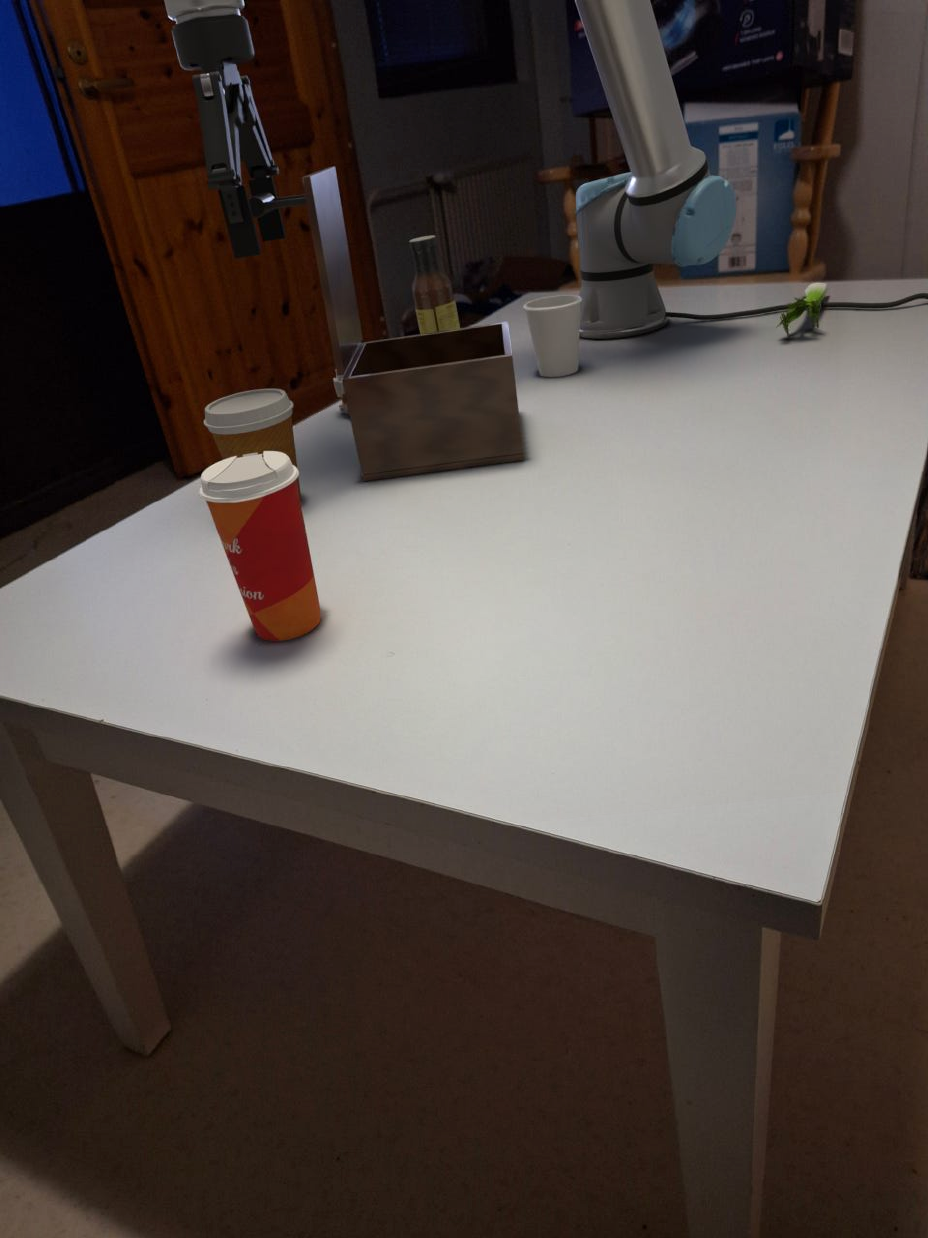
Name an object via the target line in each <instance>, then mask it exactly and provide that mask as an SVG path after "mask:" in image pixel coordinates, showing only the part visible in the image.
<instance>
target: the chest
mask: <svg viewBox="0 0 928 1238" xmlns="http://www.w3.org/2000/svg"><path fill="white" fill-rule="evenodd" d="M510 335H511V334H510V328H509V322H508V321H502V322H496V323H488V324H482V325H474V326H468V327H467V326H466V327H460V329H453V330H446V331H439V332H432V333H425V334H420V333H418V334H413V335H405V336H398V337H392V338H385V339H378V340H370V341H365V342H361V343H360V345H359V347H358V349H357V351H356V353H355V355H354V357H353V359H352V361H351V363H350V365H349V367H348V369H347V371H346V373H345V375H344V376H343V379H342V383H343V387H344V392H345V397H346V402H347V407H348V411H349V414H348V416H349V421H350V425H351V430H352V434H353V440H354V444H355V450H356V455H357V458H358V463H359V468H360V473H361V476H362V477H361V478H362V481H363V482H368V481H375V480H376V481H377V480H384V479H390V478H399V477H405V476H413V475H421V474H422V475H423V474H429V473H436V472H443V471H450V470H458V469H459V470H460V469H468V468H475V467H481V466H482V467H483V466H490V465H496V464H505V463H512V462H519V461H524V460H525V453H524V443H523V436H522V428H521V418H520V409H519V400H518V393H517V385H516V376H515V365H514V358H513V350H512V342H511V337H510Z"/></svg>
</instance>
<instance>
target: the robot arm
mask: <svg viewBox="0 0 928 1238" xmlns="http://www.w3.org/2000/svg"><path fill="white" fill-rule="evenodd" d="M163 1H164V5H165V9H166V14H167V17H168V18H169V19H170V20H172V21H174V22H176V23H175V24H174V25H173V26H172V30H171V35H172V38H173V43H174V47H175V50H176V54H177V59H178V62H179V65H180V67H181V68H182V69H183V70H185V71H201V73H199V74H198V73H197V74H193V75H192V77H191V78H192V85H193V88H194V92H195V96H196V97H195V98H196V101H197V108H198V115H199V123H200V131H201V139H202V145H203V146H202V147H203V153H204V161H205V168H206V177H207V179H206V180H205V182H206V185H207V189H208V190H209V191H215V190H217V193H218V197H219V201H220V205H221V208H222V214H223V217H224V221H225V224H226V229H227V233H228V236H229V237H228V238H229V240H230V244H231V249H232V253H233V257H234V259H235V260H236V259H241V258H242V259H243V258H249V257H255V256H261V255H262V254H263V252H262V249H261V245H260V240H259V236H258V232H257V228H256V224H255V218H254V217H253V214H252V210H251V206H250V202H249V194H248V190H247V186H246V184H243V185H242V181H243V180H242V169H241V159H242V161H243V163H244V166H245V168H246V170H247V173H248V176H249V178H250V179H248V180H247V182H248V186H249V191H250V195H251V197H254V196H256V195H259V194H261V193H264V192H268V193H270V194H272V195H273V196H274V198H278V194H277V191H276V186H275V181H274V176H277V175H279V174H280V170H279V166H278V164H275V160H274V159H273V156H272V152H271V150H270V146H269V145H268V141H267V138H266V137H267V136H266V134H265V131H264V128H263V125H262V122H261V118H260V116H259V111H258V109H257V106H256V103H255V100H254V97H253V96H254V95H253V92H252V87H251V81H250V78H249V77H248V75H240V71H239V70H238V64H243V63H247V62H250V61H252V60H253V59H254V57H255V49H254V44H253V40H252V35H251V31H250V26H249V22H248V19H246V18H245V16H244V15H242V14H241V11H243V10H244V8H245V1H244V0H163ZM574 2H575V6H576V8H577V11H578V15H579V17H580V20H581V23H582V26H583V30H584V33H585V36H586V39H587V42H588V45H589V49H590V52H591V54H592V56H593V60H594V63H595V66H596V69H597V72H598V75H599V78H600V81H601V85H602V88H603V91H604V94H605V97H606V101H607V103H608V107H609V109H610V113H611V115H612V118H613V121H614V124H615V125H614V126H615V127H616V130H617V134H618V137H619V140H620V143H621V146H622V148H623V149H622V150H623V152H624V155H625V158H626V161H627V165H628V167H629V170H630V171H629V172H625V173H620V174H616V175H613V176H609V177H605V178H600V179H597V180H593V181H590V182H586V183H583V184H582V185H580V186H579V187H578V188H577V190H576V192H575V212H574V215H575V222H576V234H577V246H578V256H579V257H578V258H579V268H580V280H581V284H580V285H581V286H580V290H579V293H578V294H579V295H578V296H580V297H581V298H582V301H581V305H580V332H579V338H584V339H591V340H605V339H607V340H608V339H620V338H627V337H628V338H629V337H635V336H640V335H644V334H647V333H651V332H654V331H656V330H659V329H662V328H663V327H664V326H665V325H667V322H668V318H674V319H675V318H676V319H687V320H695V321H715V320H716V321H717V320H727V319H733V318H741V317H748V316H755V315H762V314H766V313H772V312H779V311H786V310H787V311H789V309H787V307H788V306H786V305H787V304H779V305H773V306H769V307H767V306H766V307H762V308H755V309H749V310H742V311H734V312H728V313H718V314H717V313H716V314H695V313H686V312H674V311H667V309H666V305H665V302H664V300H663V297H662V294H661V292H660V289H659V285H658V283H657V280H656V278H655V274H654V273H655V271H654V264H655V265H672V266H673V265H677V266H678V267H689V266H700V265H705V264H707V263H710V262H712V260H715V258H716V257H717V256H719V254H720V253H721V252H722V251H723V249H724V248H725V246H726V245H727V244H728V242H729V239H730V237H731V234H732V230H733V228H734V226H735V221H736V217H737V198H736V193H735V190H734V187H733V186H732V184H731V182H730V181H729V180H727V179H724V178H723V177H721V176H720V175H714V174H711V171H710V167H709V164H708V159H707V156H706V154H705V152H704V151H703V150H701V149H699V148H696V147H694V146H692V144H691V142H690V139H689V134H688V131H687V128H686V123H685V121H684V117H683V116H684V115H683V113H682V110H681V107H680V102H679V99H678V95H677V92H676V88H675V85H674V81H673V78H672V74H671V70H670V67H669V64H668V59H667V55H666V52H665V49H664V45H663V41H662V38H661V35H660V30H659V28H658V24H657V20H656V16H655V13H654V9H653V6H652V3H651V0H574ZM256 221H257V223H258V224H257V225H258V229H259V234H260V237H261V241H262V242H263V243H264V242H269V241H270V242H271V241H277V240H282V239H286V238H287V235H286V230H285V226H284V225H285V224H284V221H283V217H282V213H281V208H276V209H274V210H273V211H271V212H269V213H267V214H265V215H263V216H261V217H258V218H256ZM921 299H923V300H928V292H918V293H915V294H911V295H909V296H906V297H904V298H901V299H898V300H894V301H889V302H851V301H832V302H831V301H829V302H827V301H826V302H825V301H823V302H822V301H821V306H820V303H819V306H818V308H819V307H821V308H820V309H823V308H827V309H829V308H830V309H833V308H836V309H837V308H845V309H846V308H849V309H889V308H895V307H898V306H899V307H900V306H902V305H905V304H907V303H910V302H912V301H917V300H921ZM789 307H790V305H789ZM789 307H788V308H789ZM793 308H794V307H793ZM793 308H791V309H793ZM791 309H790V310H791ZM806 309H809V307H807V308H806Z"/></svg>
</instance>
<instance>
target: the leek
mask: <svg viewBox="0 0 928 1238" xmlns="http://www.w3.org/2000/svg"><path fill="white" fill-rule="evenodd" d="M829 290H830V288H829V286H828V283H825V282H814V283H810V284H809V285H808V286H807V287H806V289H805V290H804V295H805V296H804V297H802V298H798V297H796V296H795V297H794V296H793V299H794V302H790V303H786V304H785V305H786V306H788V307H789V305H790V307H789V308H788V307H787V309H788V310H787V311H786V314H785V313H784V311H782V313H781V315H780V316H779V318H780V322H779V323H778V325H776V327H775V329H777V328H778V327H780V326H782V328H783V330H784V331H785V334H786V335H787V338H789V339H790V337H791V336H790V332H789V331H790V330H789V326H790V323H792V322H794V321H795V320H797V319H799V318H800V317H801V316H802V315H803V314H804V312H805V311H806V309H808V310H807V315H808V317H811V322H812V324H811V329H812V330H815V328H816V327H817V329H819V328H820V325H819V321H820V320H819V319H820V318H819V317H820V311H821V310H822V308H821V307H819V308H818V306H819V303H820V306H821V302H822V301H823V300H824V298H825V297H826V295H827V294H828V292H829ZM793 307H794V308H793ZM807 307H809V308H807ZM791 308H793V309H791Z"/></svg>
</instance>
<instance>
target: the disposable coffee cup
mask: <svg viewBox="0 0 928 1238" xmlns="http://www.w3.org/2000/svg"><path fill="white" fill-rule="evenodd" d="M293 409H294V402H293V401H292V400H291V399H290V398H289V396H288V394H287V393H286V391H285V390H283V389H281V388H260V389H258V388H257V389H252V390H245V391H240V392H236V393H233V394H229V395H227V396H224V397H221V398H218V399H216V400H213V401H212V402H210V403H209V404H207V405H206V406H205V407H204V420H203V425H204V426H205V427H206V428H207V429H208V431H209V432H210V433H211V434H212V437H213V439H214V443H215V444H216V446H217V449H218V451H219V453H220V456H221V458H222V460H225V459H227V458H230V457H234V456H237V458H240V457H243V455H245V454H251V453H258V454H263V452H264V451H277V452H282V453H284V454H286V455H287V456H288V457H289V458H290V460H291V463H292V465H294V466H295V467H296V468H297V469H298V460H297V453H296V452H297V451H296V442H295V436H294V426H293V418H292V417H293V416H292V415H293ZM262 457H264V456H263V455H262ZM298 470H299V469H298ZM299 477H300V476H299V475H298V477H297V478H296V481H297V487H298V492H299V497H300V503H302V494H301V487H300V478H299Z"/></svg>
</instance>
